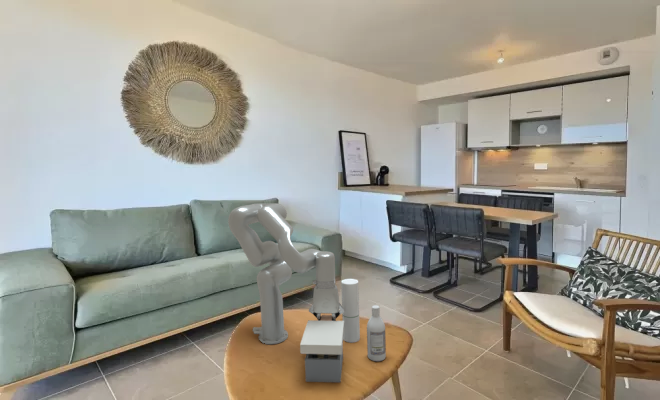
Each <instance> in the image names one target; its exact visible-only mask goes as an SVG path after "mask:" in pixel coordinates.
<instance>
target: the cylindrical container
mask: <svg viewBox="0 0 660 400" xmlns="http://www.w3.org/2000/svg"><path fill="white" fill-rule="evenodd" d="M340 284H341V306H342V307H343V308H344V312H343V313H342V314H341V315H342V321H344V336H343V342H347V343H350V344H351V343H356V342H359V341H360V339H361V332H360V331H361V330H360V299H359V298H360V297H359V289H360V288H359V280H358V279H356V278H345V279H342V280H341V283H340Z"/></svg>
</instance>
